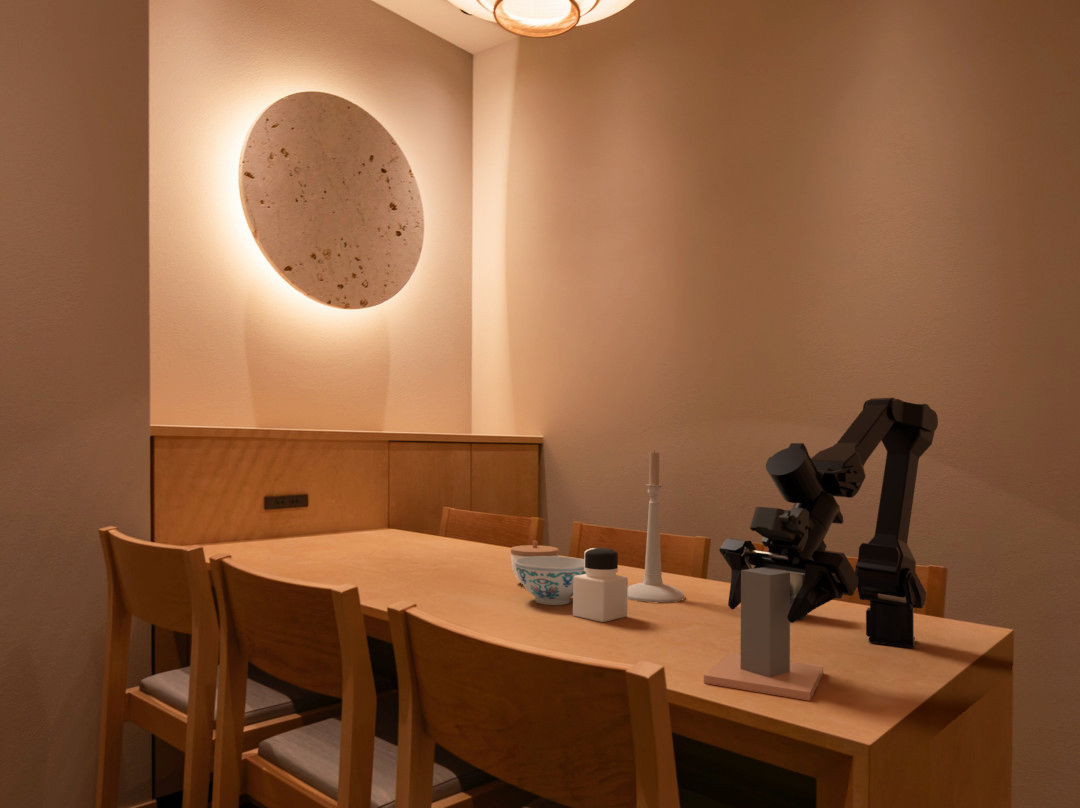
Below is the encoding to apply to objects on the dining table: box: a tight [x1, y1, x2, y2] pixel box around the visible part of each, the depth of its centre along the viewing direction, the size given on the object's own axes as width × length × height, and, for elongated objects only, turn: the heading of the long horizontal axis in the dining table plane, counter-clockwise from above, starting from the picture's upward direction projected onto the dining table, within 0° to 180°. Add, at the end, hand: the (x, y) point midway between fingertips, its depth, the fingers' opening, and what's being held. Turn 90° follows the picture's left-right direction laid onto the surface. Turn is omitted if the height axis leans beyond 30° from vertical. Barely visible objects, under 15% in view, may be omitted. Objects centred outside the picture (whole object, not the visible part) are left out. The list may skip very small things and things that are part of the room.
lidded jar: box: [510, 540, 560, 585], centre depth 165 cm, size 11×11×9 cm
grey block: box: [740, 568, 791, 678], centre depth 99 cm, size 4×4×13 cm
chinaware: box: [515, 555, 586, 606], centre depth 146 cm, size 15×15×8 cm
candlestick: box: [627, 450, 685, 603], centre depth 154 cm, size 13×13×30 cm
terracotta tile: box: [703, 651, 824, 702], centre depth 99 cm, size 13×13×1 cm
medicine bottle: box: [572, 547, 629, 623], centre depth 134 cm, size 7×7×12 cm
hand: (759, 613), depth 98 cm, fingers open, 9 cm apart
